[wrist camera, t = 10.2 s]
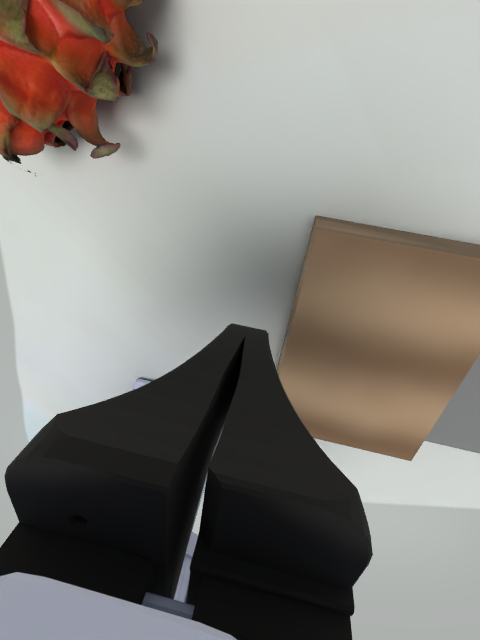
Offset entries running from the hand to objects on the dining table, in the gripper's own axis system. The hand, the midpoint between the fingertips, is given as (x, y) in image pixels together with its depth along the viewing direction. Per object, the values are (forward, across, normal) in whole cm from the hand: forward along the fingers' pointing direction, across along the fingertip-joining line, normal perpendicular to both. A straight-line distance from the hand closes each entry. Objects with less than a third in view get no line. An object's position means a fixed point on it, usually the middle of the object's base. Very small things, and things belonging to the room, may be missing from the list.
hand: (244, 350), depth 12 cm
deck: (+10, -7, +4) cm, 13 cm away
